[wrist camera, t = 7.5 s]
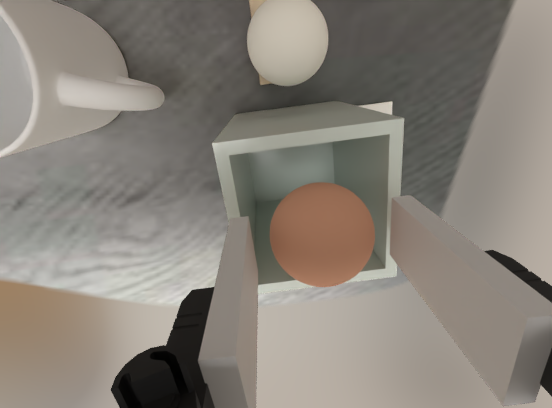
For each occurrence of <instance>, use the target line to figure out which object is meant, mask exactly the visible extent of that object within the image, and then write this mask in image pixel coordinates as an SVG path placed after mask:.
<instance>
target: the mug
mask: <svg viewBox="0 0 552 408" xmlns="http://www.w3.org/2000/svg"><path fill="white" fill-rule="evenodd" d="M164 99H165V97H164V93H163V91H162V90H161V89H160V88H159V87H157V86H155V85H152V84H150V83H146V82H142V81H139V80H135V79H131V78H129V77H128V71H127V67H126V63H125V61H124V58H123V56H122V54H121V52H120V50H119V48H118V46H117V45H116V43H115V42H114V40H113V39H112V38H111V37H110V35H109V34H108V33H107V32H106V31H105V30H104V29H103V28H102V27H101V26H100V25H98V24H97V23H96V22H95V21H93V20H92V19H91V18H89V17H87V16H86V15H84V14H82V13H80V12H78V11H76V10H74V9H72V8H70V7H67V6H65V5H62V4H60V3H57V2H55V1H52V0H0V158H1V157H4V156H8V155H11V154H15V153H18V152H21V151H25V150H28V149H32V148H35V147H38V146H42V145H45V144H49V143H52V142H55V141H59V140H62V139H66V138H69V137H72V136H76V135H79V134H83V133H86V132H89V131H93V130H96V129H98V128H100V127H103V126H105V125H106V124H108V123H110V122H111V121H112V120H113V119H115V118H116V117H117V116H118V114H119V113H120V112H121V111H143V110H152V109H156V108H158V107H160V106H161V105H162V104H163V103H164Z"/></svg>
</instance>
